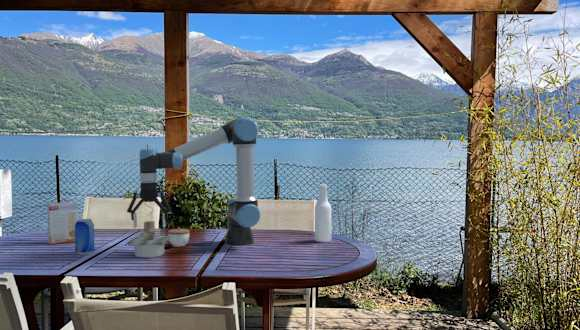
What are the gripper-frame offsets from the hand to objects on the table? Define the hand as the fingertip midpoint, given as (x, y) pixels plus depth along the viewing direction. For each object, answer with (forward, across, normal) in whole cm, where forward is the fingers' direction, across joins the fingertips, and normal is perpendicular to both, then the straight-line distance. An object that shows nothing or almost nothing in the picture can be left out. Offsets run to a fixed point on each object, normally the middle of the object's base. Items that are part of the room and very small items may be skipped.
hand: (149, 227), depth 253 cm
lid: (+7, 0, 0) cm, 7 cm away
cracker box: (+13, +52, -29) cm, 61 cm away
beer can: (+13, +31, -2) cm, 34 cm away
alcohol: (+14, -84, -31) cm, 90 cm away
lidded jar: (+13, -10, -20) cm, 26 cm away
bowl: (+13, 0, 0) cm, 13 cm away
